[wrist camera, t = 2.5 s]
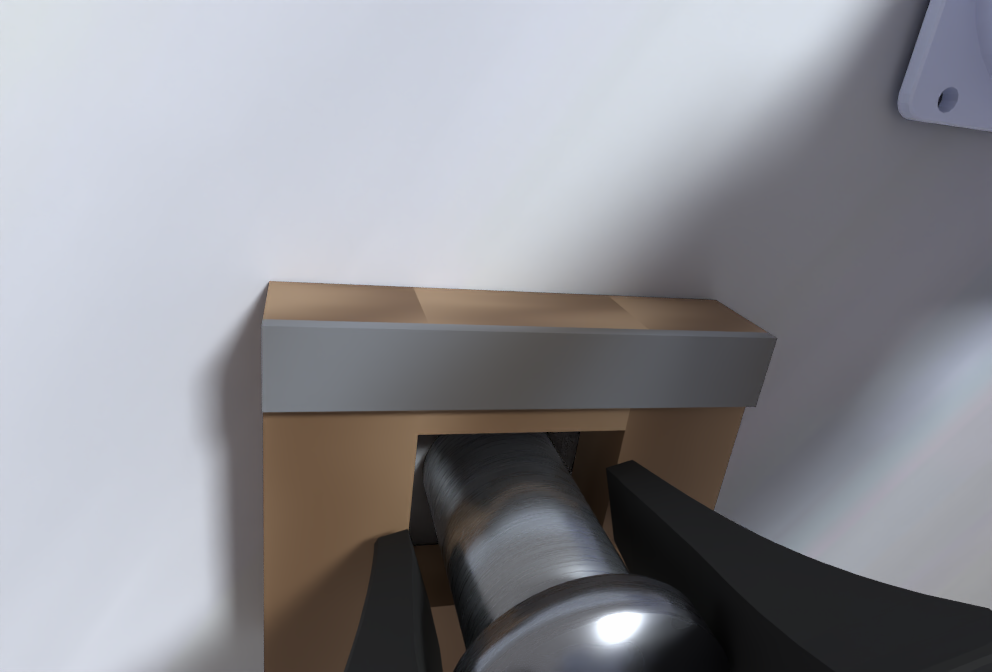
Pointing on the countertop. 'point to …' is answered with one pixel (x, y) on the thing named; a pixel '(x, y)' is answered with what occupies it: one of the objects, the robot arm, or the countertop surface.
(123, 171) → the countertop surface
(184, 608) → the countertop surface
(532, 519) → the pin
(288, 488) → the block
